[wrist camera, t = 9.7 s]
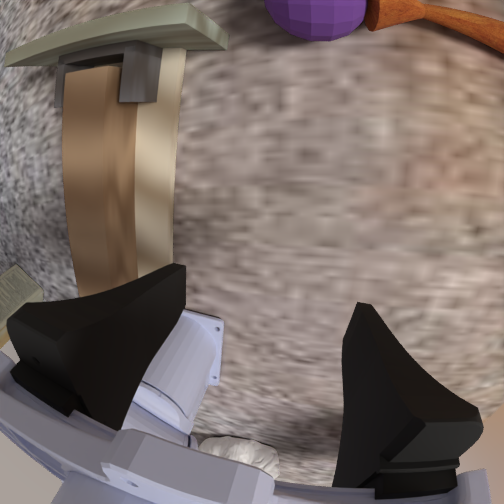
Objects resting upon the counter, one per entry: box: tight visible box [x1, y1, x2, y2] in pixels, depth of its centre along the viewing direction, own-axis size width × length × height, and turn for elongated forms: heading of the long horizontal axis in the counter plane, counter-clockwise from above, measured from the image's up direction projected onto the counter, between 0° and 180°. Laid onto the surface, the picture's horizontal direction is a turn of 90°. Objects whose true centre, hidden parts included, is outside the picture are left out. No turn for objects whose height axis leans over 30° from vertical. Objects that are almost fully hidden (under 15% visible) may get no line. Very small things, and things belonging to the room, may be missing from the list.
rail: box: [62, 66, 138, 297], centre depth 20 cm, size 18×4×4 cm, turn 173°
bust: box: [198, 436, 280, 479], centre depth 33 cm, size 12×8×11 cm
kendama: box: [264, 0, 504, 54], centre depth 11 cm, size 6×6×20 cm
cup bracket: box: [4, 3, 229, 278], centre depth 19 cm, size 23×16×7 cm
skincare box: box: [0, 264, 44, 349], centre depth 27 cm, size 6×4×12 cm
